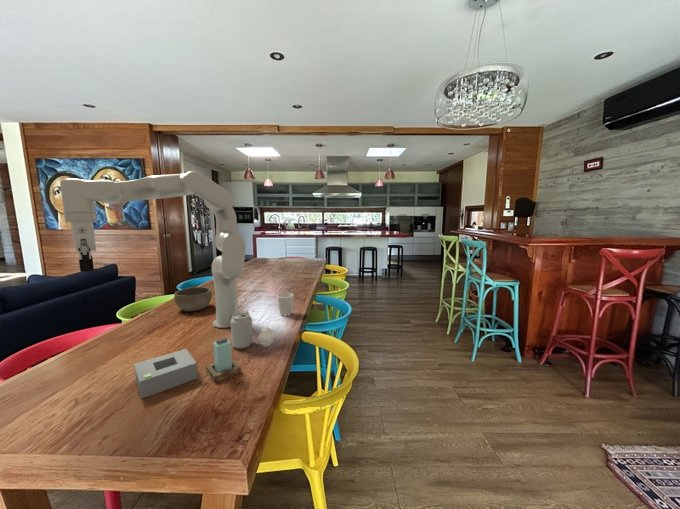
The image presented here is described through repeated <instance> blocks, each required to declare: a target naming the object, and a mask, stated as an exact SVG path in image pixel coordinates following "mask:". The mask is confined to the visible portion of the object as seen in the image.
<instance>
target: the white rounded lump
mask: <svg viewBox="0 0 680 509" xmlns="http://www.w3.org/2000/svg"><path fill="white" fill-rule="evenodd" d="M257 338H258V341H259V343H260V344H261V346H262V347H270V346H271V345H272V344H273V341H274V340H275V333H274V332H273V331H272V329H271V328H270V327H268V326H267V327H263V328H262V329H261V331H260V332H259V334H258V336H257Z"/></svg>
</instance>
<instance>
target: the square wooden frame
mask: <svg viewBox="0 0 680 509" xmlns="http://www.w3.org/2000/svg"><path fill="white" fill-rule="evenodd" d="M205 372H206V373H207V375H208V376H209V378H210V379H211V380H212V382H213V383H214V384H215V383H216V384H217V383H218V382H221V381H223V380H227V379H229V378H230V377H231V378H232V377H234V376H236V375H239V374H241V373H242V367H241V365H240V364H239V363H238V362H237V361H236V360H235V359H234V358H233V357H232V368H231V369H228V370H225V371H222V372H220V373H216V372H215V366H214V362H212V363H210V364H207V365H205Z"/></svg>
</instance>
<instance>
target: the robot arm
mask: <svg viewBox="0 0 680 509" xmlns="http://www.w3.org/2000/svg"><path fill="white" fill-rule="evenodd" d="M59 182H60V183H59V186H60V193H61V200H62V201H61V202H62V208H63V215H64V217H63V218H64V223H69V224H70V229H71V235H72V240H73V244H74V249H75V253H77V254H78V255H79V256H78V257H79V259H78V263H79V265H78V266H79V271H80V272H81V273H86V272H94V271H95V270H94V269H95V268H94V266H95V265H94V259H93V255H92V251H93V253H96V252H97V243H96V236H95V229H94V223H97V214H96V207H95V206H96V205H95V202H99V203H102V204H106V205H107V204H108V205H111V204H118V203H127V202H136V201H147V200H150V201H151V200H158V199H159V200H160V199H168V198H176V197H177V198H178V197H184V196H192V195H193V196H194V195H195V196H197V197H198V198H200V199H201V200H203V203H204V205H205V206H206V208H208V209H209V210H211V212H212V213H213V214H214V217H215V227H216V228H215V237H214V238H215V240H214V243H215V244H214V245H215V247H216V249H217V250H219V251H220V252H221V255H218V256H216V257H215V258H214V259H213V260H212V263H211V274H212V279H213V287H214V290H213V291H214V300H215V302H214V304H215V320H213V321H212V326H214V328H219V329H226V328H231V319H232V316H233V315H235V314H238V313H248V314H249V315H250V312H249V310H246V311H244V310H240V311H239V303H238V302H239V300H238V299H239V298H238V283H237V279H239V277H242V274H243V273H244V269H245V258H246V254H245V253H246V242H245V239H244V237H243V236H242V235H241V234H240V233H238V231H237V230H238V229H237V228H238V227H237V226H238V225H237V224H238V223H237V222H238V221H237V220H238V218H237V214H236V212H235V209H234V207H233V206H232V205H233V197H232V195H231V193H230V192H229V191H228V190H227V189H226V188H224V187H222V186H221V185H219V184H218V183H216V182H215V181H213V180H212V179H211V178H209V177H208V176H206V175H205V174H203V173H201V172H199V171H197V170H196V171H195V170H191V171H187V172H185V173H174V174H160V175H159V174H156V175H148V176H145V177H143V178H138V179H134V180H132V179H131V180H124V181H113V180H108V179H100V180H99V179H96V180H86V179H81V178H62V179H61V180H60V181H59Z"/></svg>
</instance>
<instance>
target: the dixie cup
mask: <svg viewBox="0 0 680 509" xmlns="http://www.w3.org/2000/svg"><path fill="white" fill-rule="evenodd" d="M276 297H277V304H278V305H277V306H278V310H279V311H278V312H279V315H280V314H281V315H288V314H291V315H292V312H293V302H294V294H293V293H292V292H282V293H278V294H277V295H276ZM281 315H280V316H281Z"/></svg>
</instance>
